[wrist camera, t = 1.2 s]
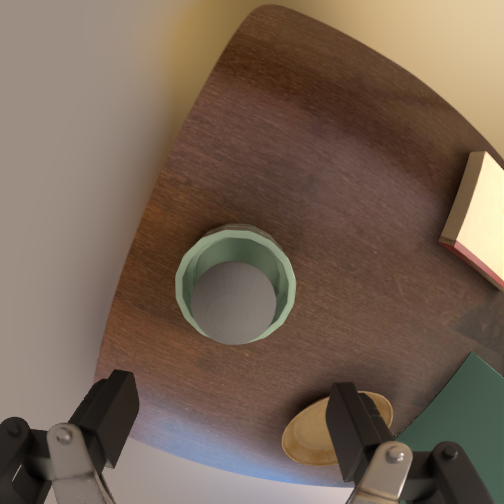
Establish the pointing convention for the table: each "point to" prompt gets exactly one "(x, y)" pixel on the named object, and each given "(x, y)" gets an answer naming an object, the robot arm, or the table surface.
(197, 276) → the bowl
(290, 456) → the plant saucer
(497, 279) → the book
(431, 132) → the table surface
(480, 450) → the box
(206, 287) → the light bulb
